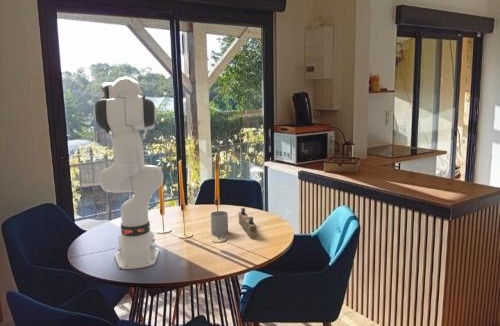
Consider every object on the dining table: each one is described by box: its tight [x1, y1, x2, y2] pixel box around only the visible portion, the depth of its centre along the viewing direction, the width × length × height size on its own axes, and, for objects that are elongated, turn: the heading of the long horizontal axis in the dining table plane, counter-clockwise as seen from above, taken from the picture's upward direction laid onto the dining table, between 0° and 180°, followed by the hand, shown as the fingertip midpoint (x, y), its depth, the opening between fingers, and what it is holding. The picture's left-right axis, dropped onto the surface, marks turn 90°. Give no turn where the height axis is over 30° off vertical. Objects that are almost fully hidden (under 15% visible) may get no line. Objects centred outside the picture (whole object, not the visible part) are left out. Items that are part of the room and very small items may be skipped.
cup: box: [210, 210, 229, 237], centre depth 197 cm, size 8×8×10 cm
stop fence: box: [238, 207, 257, 239], centre depth 200 cm, size 24×3×9 cm, turn 15°
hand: (133, 139), depth 194 cm, fingers open, 8 cm apart
